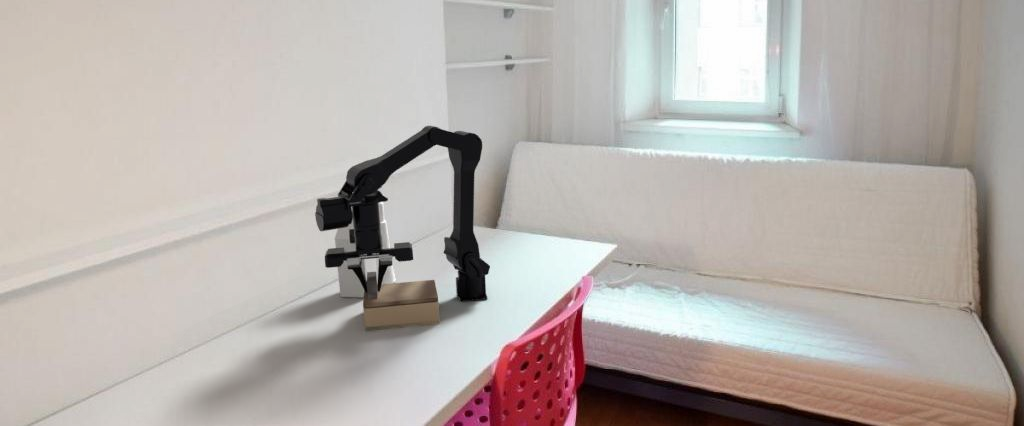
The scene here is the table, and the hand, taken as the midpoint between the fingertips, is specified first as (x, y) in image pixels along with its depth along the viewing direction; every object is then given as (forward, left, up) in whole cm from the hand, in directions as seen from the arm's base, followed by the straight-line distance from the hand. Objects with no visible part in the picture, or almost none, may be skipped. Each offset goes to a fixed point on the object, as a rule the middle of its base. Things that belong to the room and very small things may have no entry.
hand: (372, 291), depth 160 cm
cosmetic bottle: (-2, -26, -7) cm, 27 cm away
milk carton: (+4, -19, -7) cm, 21 cm away
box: (-6, 0, -7) cm, 9 cm away
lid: (-6, 0, -1) cm, 6 cm away
